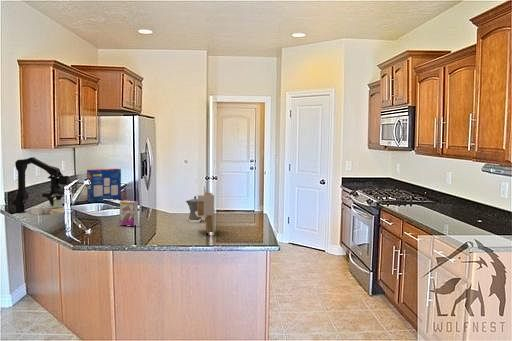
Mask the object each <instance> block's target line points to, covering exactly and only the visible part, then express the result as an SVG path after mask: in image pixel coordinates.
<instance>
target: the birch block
mask: <svg viewBox="0 0 512 341" xmlns="http://www.w3.org/2000/svg"><path fill="white" fill-rule="evenodd" d="M64 208H65V207H61V206H60V207H47V208H45V209H44V214H45V215H46V214H47V215H52V216H56V215H62V214H65V213H64Z"/></svg>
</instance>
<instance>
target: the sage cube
mask: <svg viewBox="0 0 512 341" xmlns="http://www.w3.org/2000/svg"><path fill="white" fill-rule="evenodd" d="M53 207H61V200H57V199H56V198H54V199H53V206H52V205H51V204H50V203H49V208H53Z"/></svg>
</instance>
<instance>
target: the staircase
mask: <svg viewBox="0 0 512 341" xmlns="http://www.w3.org/2000/svg"><path fill="white" fill-rule="evenodd" d="M203 190H204V192H203V194H204V195H198V194H197V199H198V211H195V214H196V215H197V217H201V218H204V221H205V229H206V234H207V233H208V232H213V233H214V234H215V220H216V219H215V194H213V193H212V192H206V191H207V190H206V186H204V189H203Z"/></svg>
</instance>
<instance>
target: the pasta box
mask: <svg viewBox="0 0 512 341" xmlns="http://www.w3.org/2000/svg"><path fill="white" fill-rule="evenodd" d="M87 179H89V180H90V182H91V185H89V186H86V188H87V189H86V191H87V192H86V194H87V195H86V197H87V199H86V200H87V202H90V203H95V202H96V201H98V202H101V201H100V200H103V199H113V200H112V201H117V200H122V169H121V168H100V169H94V168H93V169H87V170H86V180H87ZM96 203H97V202H96Z"/></svg>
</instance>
